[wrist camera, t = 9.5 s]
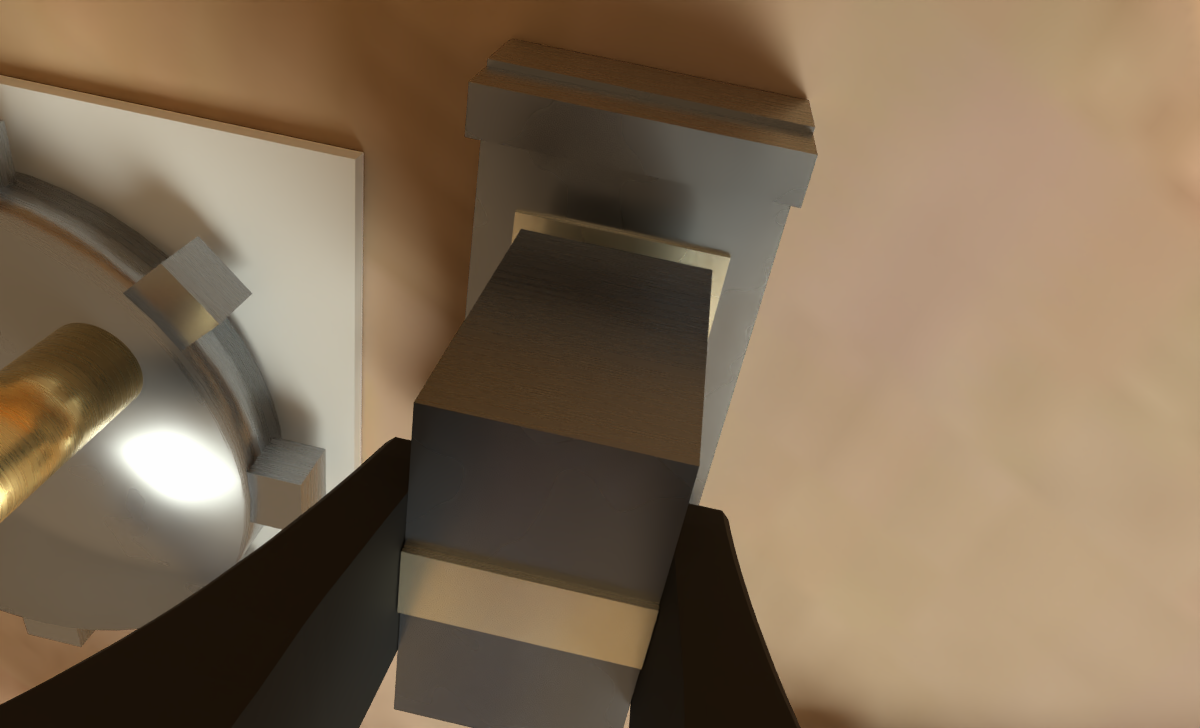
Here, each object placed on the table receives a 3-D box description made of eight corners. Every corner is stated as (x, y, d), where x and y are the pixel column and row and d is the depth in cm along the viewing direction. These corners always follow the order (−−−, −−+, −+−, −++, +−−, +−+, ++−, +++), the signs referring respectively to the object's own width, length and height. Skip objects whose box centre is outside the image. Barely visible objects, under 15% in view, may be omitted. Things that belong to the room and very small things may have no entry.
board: (359, 644, 23) (353, 656, 23) (-126, 530, 24) (-139, 540, 23) (363, 152, 15) (355, 159, 15) (-353, -1, 16) (-377, 3, 16)
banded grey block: (648, 515, 15) (612, 769, 11) (489, 479, 16) (390, 716, 11) (712, 269, 13) (699, 473, 8) (520, 228, 13) (410, 409, 9)
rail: (688, 503, 19) (680, 588, 17) (468, 454, 19) (434, 531, 17) (808, 100, 14) (819, 148, 12) (511, 38, 14) (469, 74, 12)
